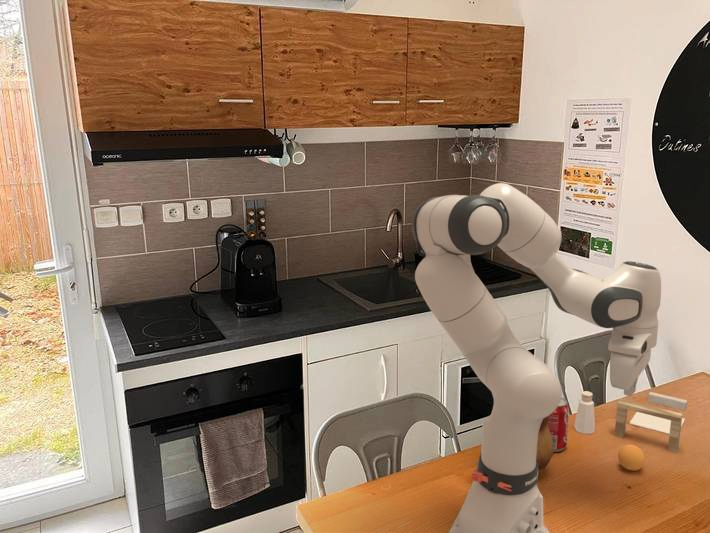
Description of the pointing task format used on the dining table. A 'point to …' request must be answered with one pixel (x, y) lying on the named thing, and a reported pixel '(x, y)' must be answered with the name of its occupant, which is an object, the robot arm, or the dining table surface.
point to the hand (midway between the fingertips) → (629, 393)
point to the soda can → (559, 426)
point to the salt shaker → (585, 414)
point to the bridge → (654, 411)
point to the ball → (631, 457)
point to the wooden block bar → (667, 401)
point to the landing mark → (652, 422)
